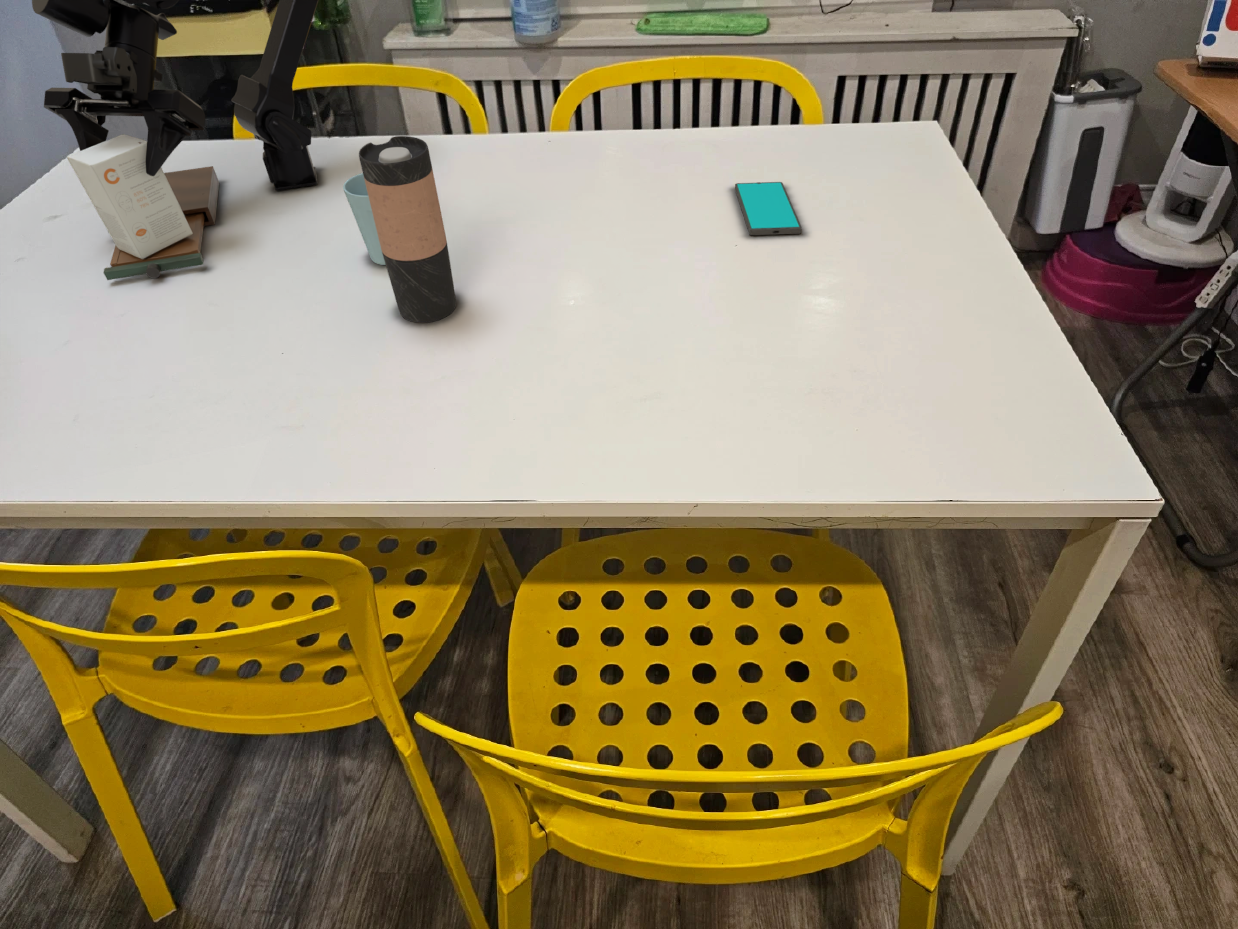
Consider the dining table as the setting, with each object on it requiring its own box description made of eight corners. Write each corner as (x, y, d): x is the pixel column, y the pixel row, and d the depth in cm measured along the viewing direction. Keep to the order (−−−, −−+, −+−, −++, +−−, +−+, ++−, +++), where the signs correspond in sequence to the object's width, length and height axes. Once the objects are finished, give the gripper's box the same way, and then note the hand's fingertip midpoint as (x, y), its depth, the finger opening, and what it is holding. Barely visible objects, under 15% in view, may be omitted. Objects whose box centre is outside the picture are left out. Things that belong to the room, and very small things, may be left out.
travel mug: (445, 327, 96) (412, 165, 83) (387, 321, 98) (345, 161, 84) (466, 293, 102) (439, 137, 88) (411, 288, 103) (374, 133, 89)
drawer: (203, 270, 107) (198, 259, 105) (106, 286, 104) (101, 275, 103) (209, 219, 117) (205, 209, 116) (121, 233, 115) (116, 222, 114)
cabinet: (215, 224, 117) (207, 206, 115) (118, 239, 115) (109, 221, 113) (219, 182, 128) (212, 165, 126) (131, 195, 125) (123, 178, 123)
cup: (415, 268, 107) (399, 193, 100) (358, 271, 107) (337, 197, 99) (422, 240, 112) (406, 168, 105) (368, 243, 112) (348, 171, 105)
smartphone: (750, 230, 110) (734, 183, 121) (749, 235, 111) (734, 188, 122) (802, 228, 110) (782, 181, 121) (801, 233, 111) (782, 186, 122)
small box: (168, 224, 113) (123, 132, 104) (194, 234, 110) (150, 140, 101) (116, 249, 109) (64, 155, 100) (141, 260, 106) (90, 164, 97)
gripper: (11, 17, 96) (-1, 145, 95) (153, 18, 94) (141, 149, 93) (83, 66, 107) (73, 180, 107) (212, 68, 105) (202, 185, 104)
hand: (120, 173), depth 102 cm, fingers closed on small box, 8 cm apart
